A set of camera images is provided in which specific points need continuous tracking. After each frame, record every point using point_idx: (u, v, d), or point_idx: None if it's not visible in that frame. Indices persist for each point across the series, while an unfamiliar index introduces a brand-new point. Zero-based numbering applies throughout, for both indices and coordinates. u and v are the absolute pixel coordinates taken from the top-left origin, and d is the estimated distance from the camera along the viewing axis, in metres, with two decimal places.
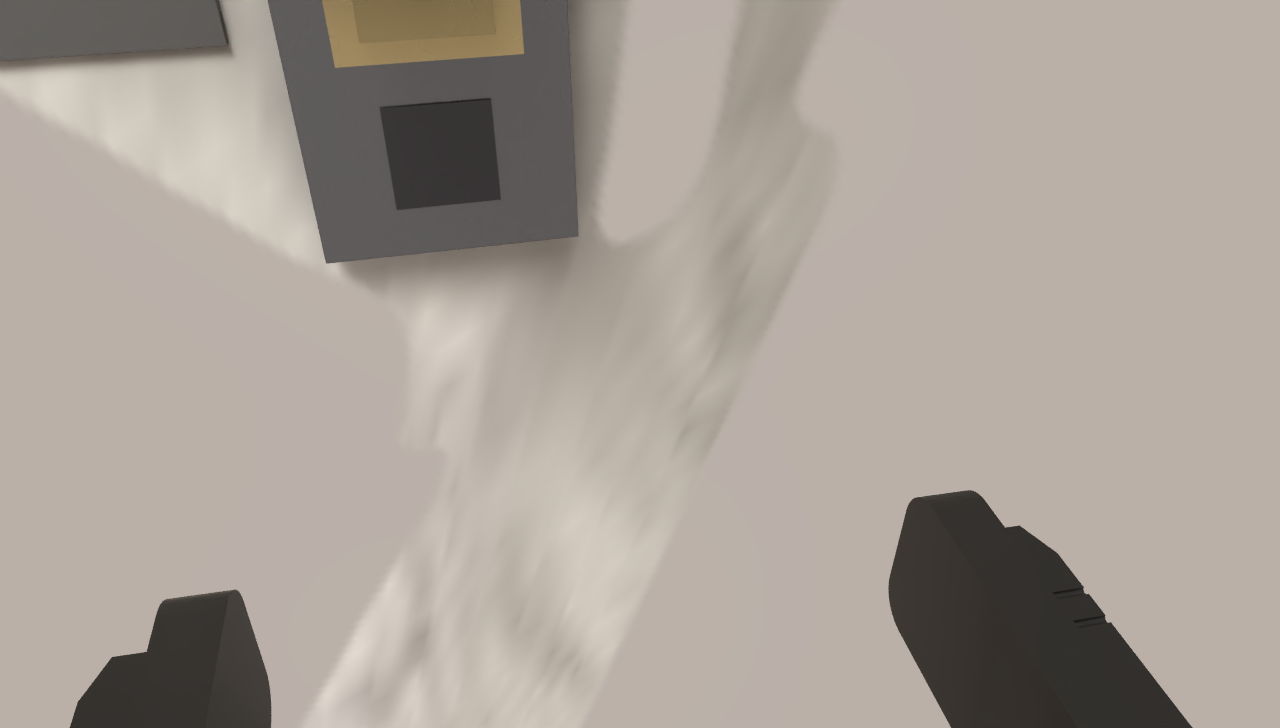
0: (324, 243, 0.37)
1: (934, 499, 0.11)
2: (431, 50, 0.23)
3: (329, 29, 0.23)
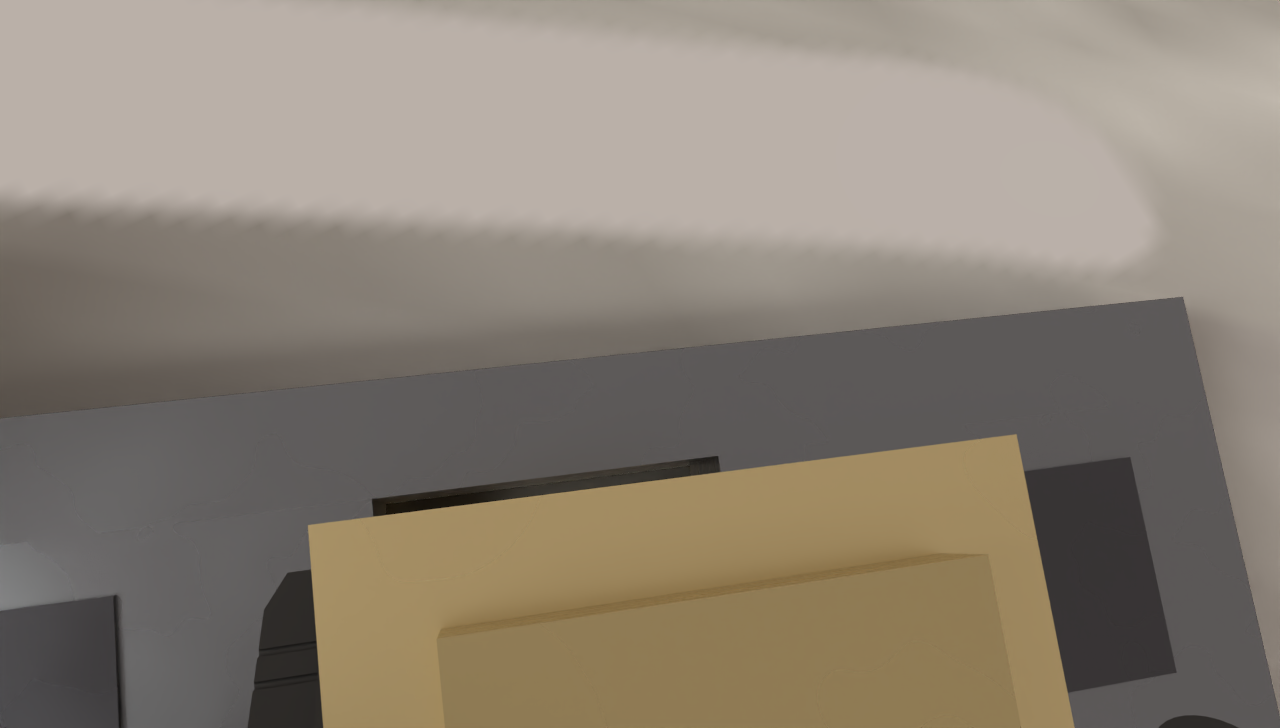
0: None
1: None
2: None
3: None
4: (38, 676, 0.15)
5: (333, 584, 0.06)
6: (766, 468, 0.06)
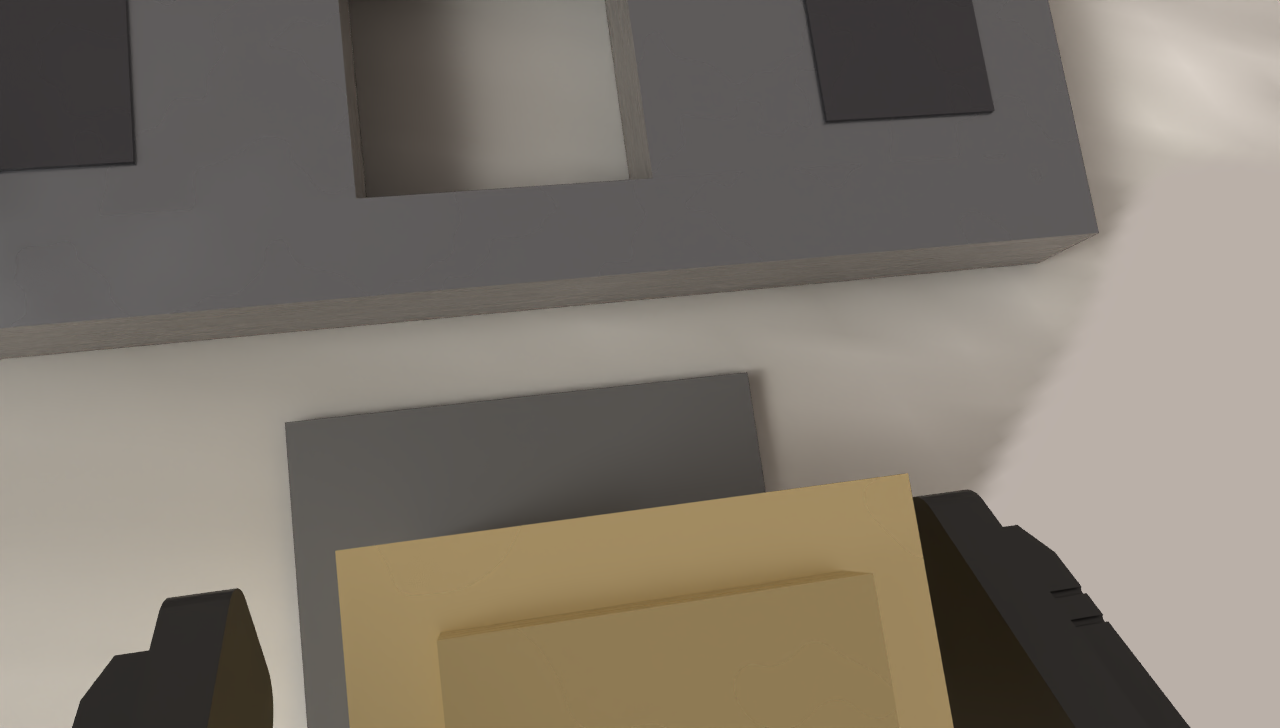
0: (1064, 230, 0.21)
1: (932, 498, 0.11)
2: None
3: None
4: (65, 23, 0.18)
5: (355, 597, 0.07)
6: (702, 502, 0.08)
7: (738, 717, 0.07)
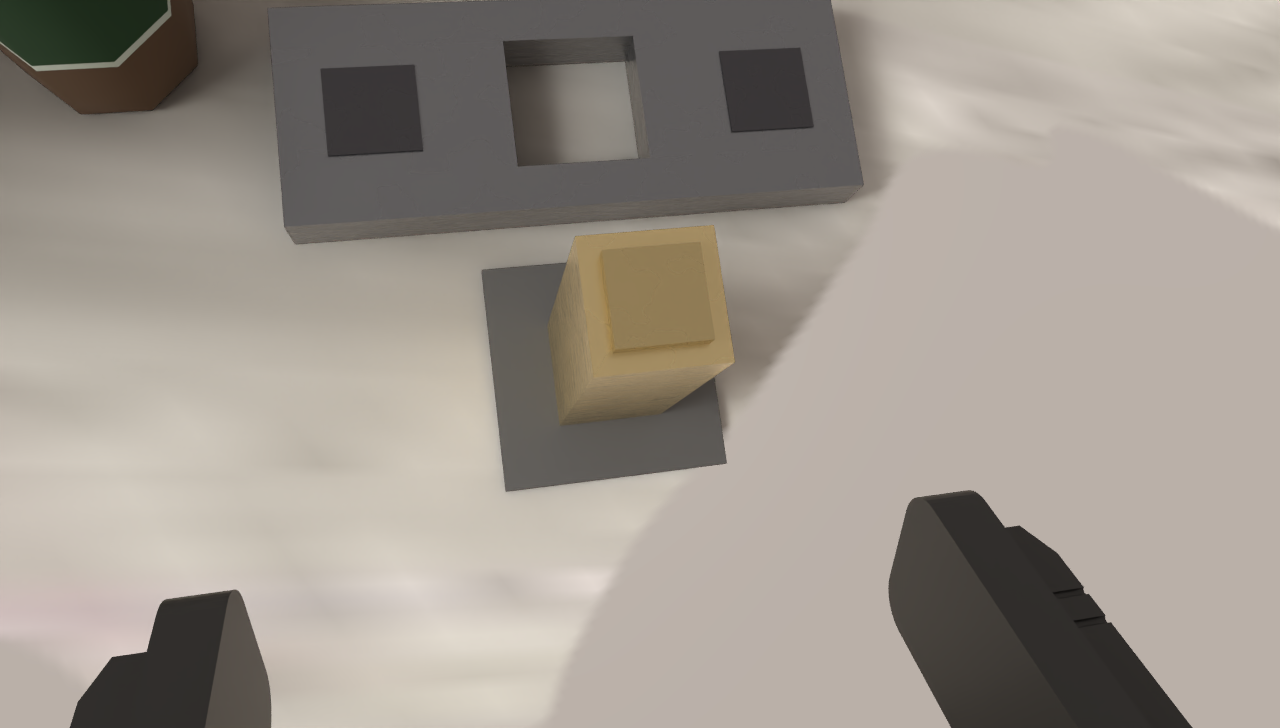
0: (846, 183, 0.44)
1: (934, 499, 0.11)
2: (716, 292, 0.31)
3: (707, 364, 0.30)
4: (390, 89, 0.42)
5: (580, 246, 0.30)
6: (661, 229, 0.31)
7: (668, 270, 0.30)
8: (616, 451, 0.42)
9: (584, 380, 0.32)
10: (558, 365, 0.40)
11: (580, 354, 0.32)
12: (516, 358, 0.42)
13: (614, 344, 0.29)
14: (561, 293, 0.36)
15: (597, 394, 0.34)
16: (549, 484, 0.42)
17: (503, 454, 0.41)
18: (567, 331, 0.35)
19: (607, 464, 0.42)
